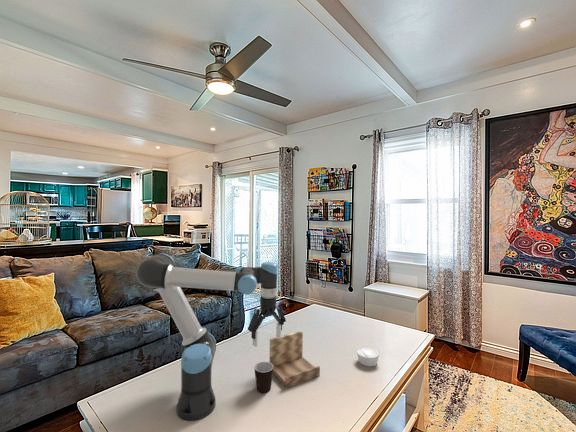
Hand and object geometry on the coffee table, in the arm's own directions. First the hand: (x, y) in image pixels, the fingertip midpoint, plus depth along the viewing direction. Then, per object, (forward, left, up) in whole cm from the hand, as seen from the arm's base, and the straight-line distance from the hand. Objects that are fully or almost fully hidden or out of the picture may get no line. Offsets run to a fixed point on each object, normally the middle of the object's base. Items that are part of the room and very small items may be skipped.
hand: (267, 341), depth 133 cm
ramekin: (+55, -12, -20) cm, 59 cm away
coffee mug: (-2, -3, -20) cm, 20 cm away
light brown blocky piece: (+15, -1, -19) cm, 25 cm away
